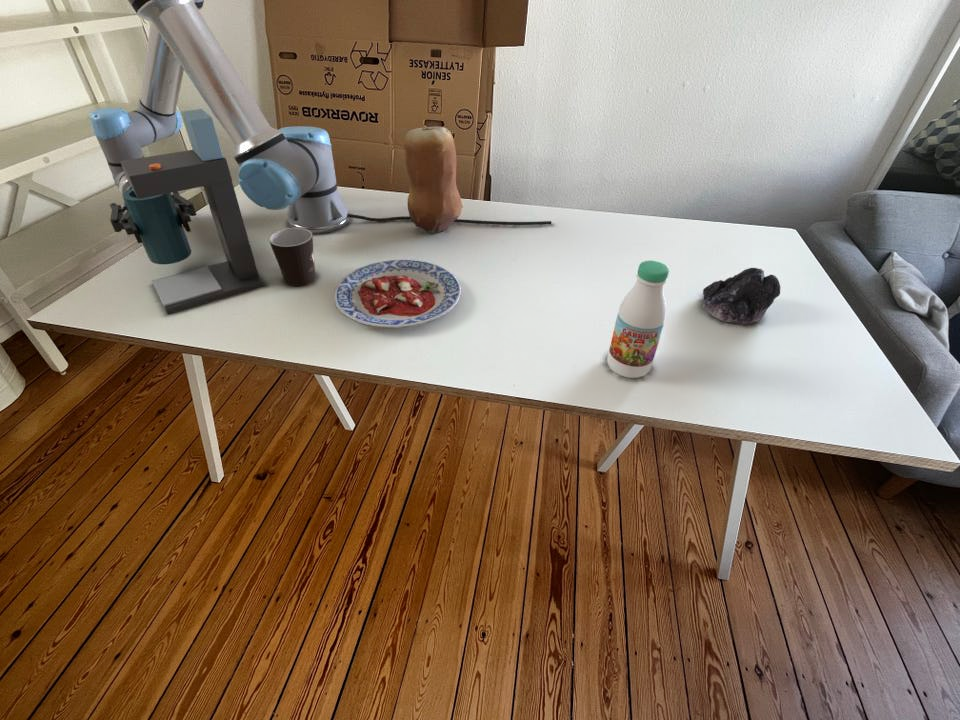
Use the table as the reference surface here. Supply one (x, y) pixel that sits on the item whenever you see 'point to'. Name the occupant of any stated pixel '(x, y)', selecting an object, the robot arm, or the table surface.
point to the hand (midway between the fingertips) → (162, 231)
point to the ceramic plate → (397, 293)
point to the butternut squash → (432, 178)
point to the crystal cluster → (741, 296)
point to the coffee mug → (294, 255)
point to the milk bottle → (639, 322)
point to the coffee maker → (213, 175)
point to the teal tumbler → (158, 227)
